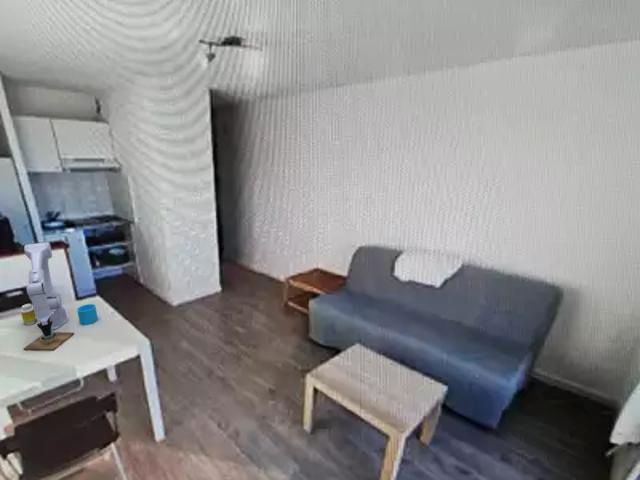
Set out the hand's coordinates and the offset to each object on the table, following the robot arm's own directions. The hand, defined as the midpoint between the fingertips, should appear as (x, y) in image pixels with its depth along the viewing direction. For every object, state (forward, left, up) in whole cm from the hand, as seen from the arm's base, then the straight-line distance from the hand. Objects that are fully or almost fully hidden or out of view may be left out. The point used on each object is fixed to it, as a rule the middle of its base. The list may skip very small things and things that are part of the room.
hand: (47, 332), depth 169 cm
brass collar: (0, 0, -5) cm, 5 cm away
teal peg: (0, 0, -4) cm, 4 cm away
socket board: (0, 0, -5) cm, 5 cm away
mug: (-21, +5, -6) cm, 22 cm away
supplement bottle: (-17, -23, -6) cm, 29 cm away
